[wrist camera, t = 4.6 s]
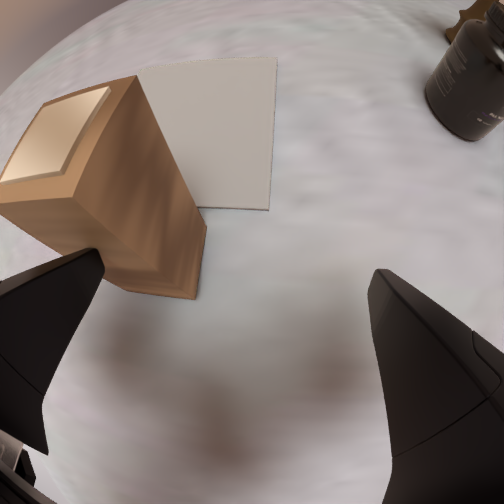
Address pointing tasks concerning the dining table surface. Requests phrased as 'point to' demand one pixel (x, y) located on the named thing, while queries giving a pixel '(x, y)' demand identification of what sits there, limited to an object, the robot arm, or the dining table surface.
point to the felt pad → (218, 126)
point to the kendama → (470, 16)
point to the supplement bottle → (472, 78)
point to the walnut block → (107, 189)
